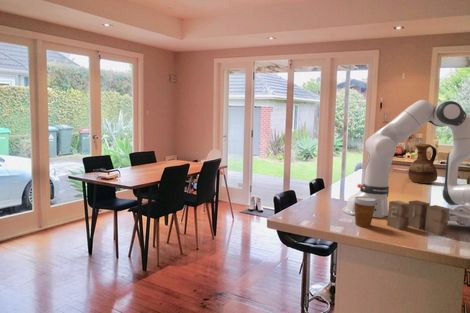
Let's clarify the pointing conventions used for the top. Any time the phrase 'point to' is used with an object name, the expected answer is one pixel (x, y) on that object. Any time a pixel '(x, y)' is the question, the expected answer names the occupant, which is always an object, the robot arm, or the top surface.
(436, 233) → the plain walnut block
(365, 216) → the disposable coffee cup
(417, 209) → the walnut block numbered 1
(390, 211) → the walnut block numbered 2
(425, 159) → the ceramic pitcher
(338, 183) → the top surface
